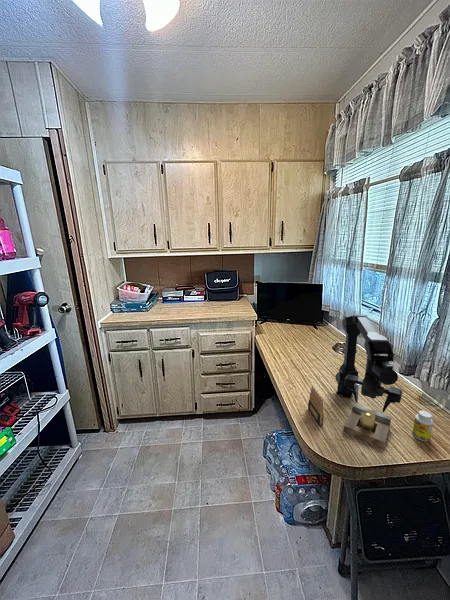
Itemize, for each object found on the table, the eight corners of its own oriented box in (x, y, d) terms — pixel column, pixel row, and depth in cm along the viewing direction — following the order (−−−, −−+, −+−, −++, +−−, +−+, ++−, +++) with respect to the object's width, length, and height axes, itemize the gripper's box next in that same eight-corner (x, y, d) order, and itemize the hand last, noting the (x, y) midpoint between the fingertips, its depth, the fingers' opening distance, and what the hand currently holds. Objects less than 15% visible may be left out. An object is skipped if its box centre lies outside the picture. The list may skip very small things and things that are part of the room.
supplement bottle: (408, 433, 101) (412, 411, 99) (417, 429, 103) (422, 407, 101) (423, 444, 96) (428, 420, 94) (433, 439, 98) (438, 416, 95)
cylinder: (357, 432, 102) (360, 414, 100) (360, 425, 106) (362, 408, 104) (371, 437, 99) (374, 419, 97) (374, 430, 103) (376, 413, 101)
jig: (343, 432, 102) (344, 421, 101) (352, 413, 113) (353, 403, 112) (383, 449, 94) (385, 437, 92) (389, 428, 104) (391, 417, 103)
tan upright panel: (323, 425, 106) (325, 399, 103) (318, 425, 106) (320, 400, 103) (311, 408, 116) (313, 385, 114) (307, 409, 116) (309, 385, 114)
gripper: (341, 371, 96) (338, 407, 99) (401, 388, 84) (395, 429, 88) (349, 360, 104) (346, 394, 108) (405, 374, 93) (399, 412, 96)
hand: (369, 406), depth 100 cm, fingers open, 9 cm apart
